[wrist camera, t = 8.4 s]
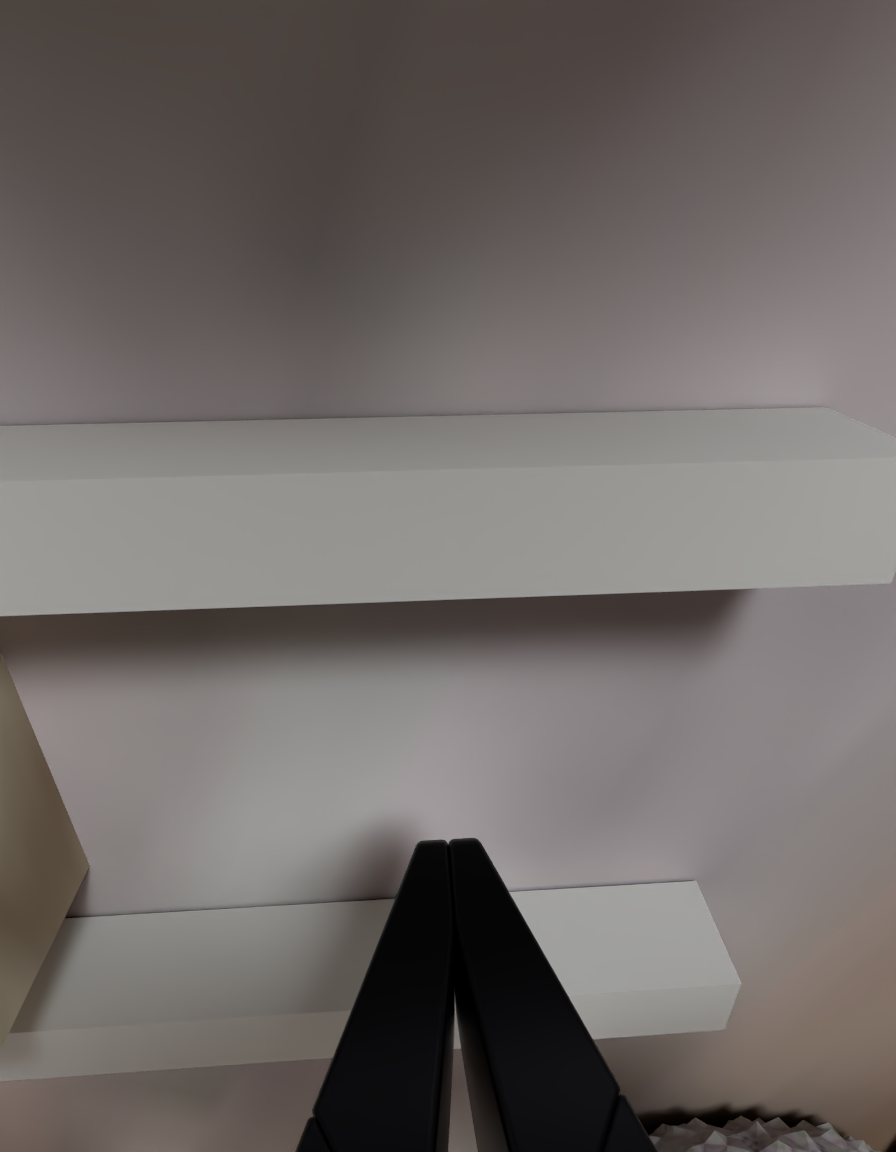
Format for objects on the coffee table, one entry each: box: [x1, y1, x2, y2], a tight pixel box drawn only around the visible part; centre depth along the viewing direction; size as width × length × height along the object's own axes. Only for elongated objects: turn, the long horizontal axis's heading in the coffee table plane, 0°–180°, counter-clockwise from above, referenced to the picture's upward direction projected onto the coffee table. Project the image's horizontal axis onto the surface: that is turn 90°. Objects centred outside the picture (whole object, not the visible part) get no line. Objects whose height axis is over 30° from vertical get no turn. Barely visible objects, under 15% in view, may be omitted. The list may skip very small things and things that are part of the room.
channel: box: [0, 407, 896, 1082], centre depth 10 cm, size 11×20×2 cm, turn 91°
